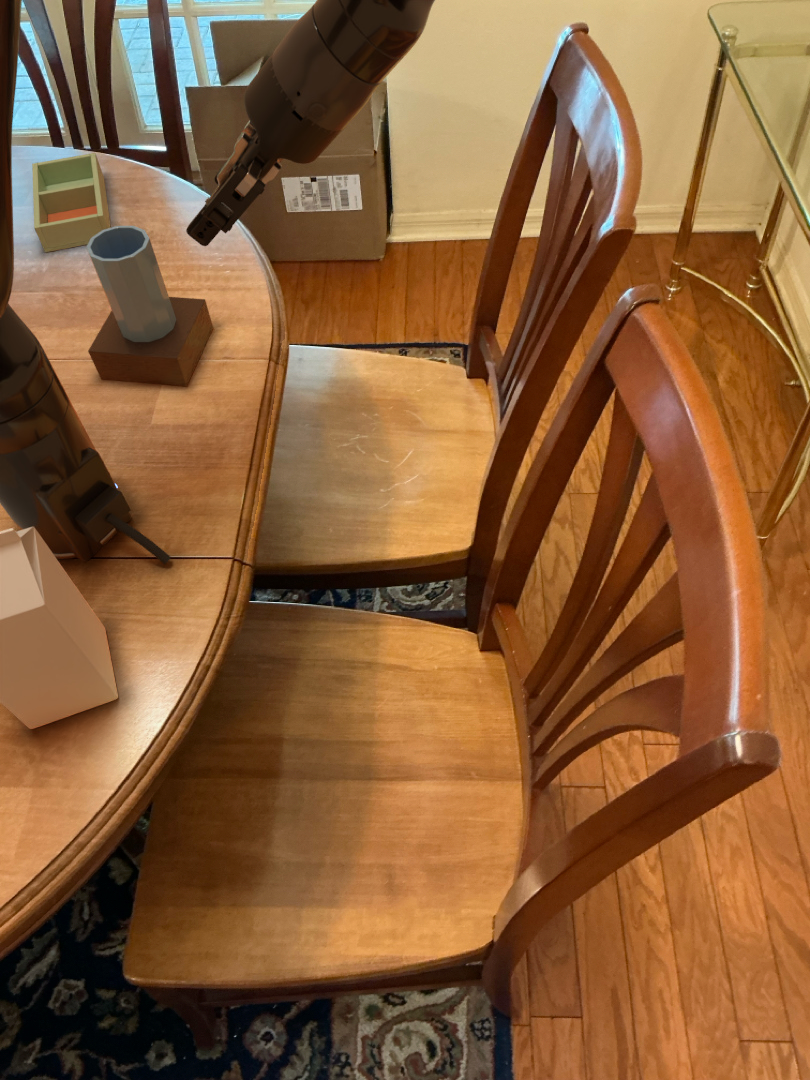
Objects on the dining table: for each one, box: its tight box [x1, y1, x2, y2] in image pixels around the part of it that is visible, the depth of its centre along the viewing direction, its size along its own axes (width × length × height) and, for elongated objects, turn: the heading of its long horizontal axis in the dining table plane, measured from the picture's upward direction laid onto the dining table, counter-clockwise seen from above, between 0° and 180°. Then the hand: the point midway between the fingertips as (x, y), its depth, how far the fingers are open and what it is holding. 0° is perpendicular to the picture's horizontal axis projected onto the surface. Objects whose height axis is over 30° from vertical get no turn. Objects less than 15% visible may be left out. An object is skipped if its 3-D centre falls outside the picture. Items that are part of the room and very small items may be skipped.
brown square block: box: [87, 296, 214, 387], centre depth 86 cm, size 10×10×4 cm
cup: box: [86, 225, 176, 342], centre depth 80 cm, size 6×6×10 cm
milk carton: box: [0, 527, 119, 730], centre depth 56 cm, size 7×7×19 cm
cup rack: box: [31, 152, 112, 253], centre depth 104 cm, size 9×16×4 cm, turn 17°
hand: (209, 211), depth 72 cm, fingers open, 8 cm apart
